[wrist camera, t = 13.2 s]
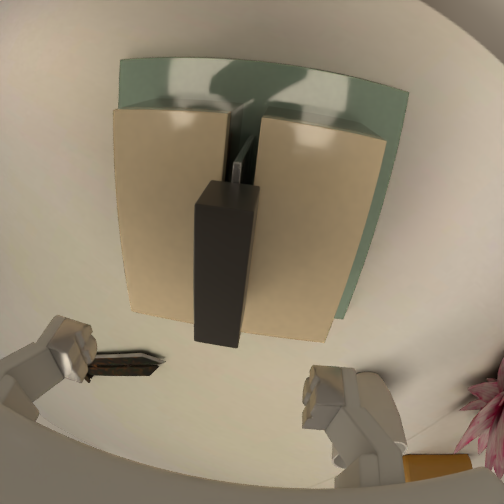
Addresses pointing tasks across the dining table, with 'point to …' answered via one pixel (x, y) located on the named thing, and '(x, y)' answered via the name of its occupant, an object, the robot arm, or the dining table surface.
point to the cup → (377, 411)
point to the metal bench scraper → (224, 252)
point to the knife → (122, 370)
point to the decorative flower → (488, 421)
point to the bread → (434, 466)
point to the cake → (253, 181)
